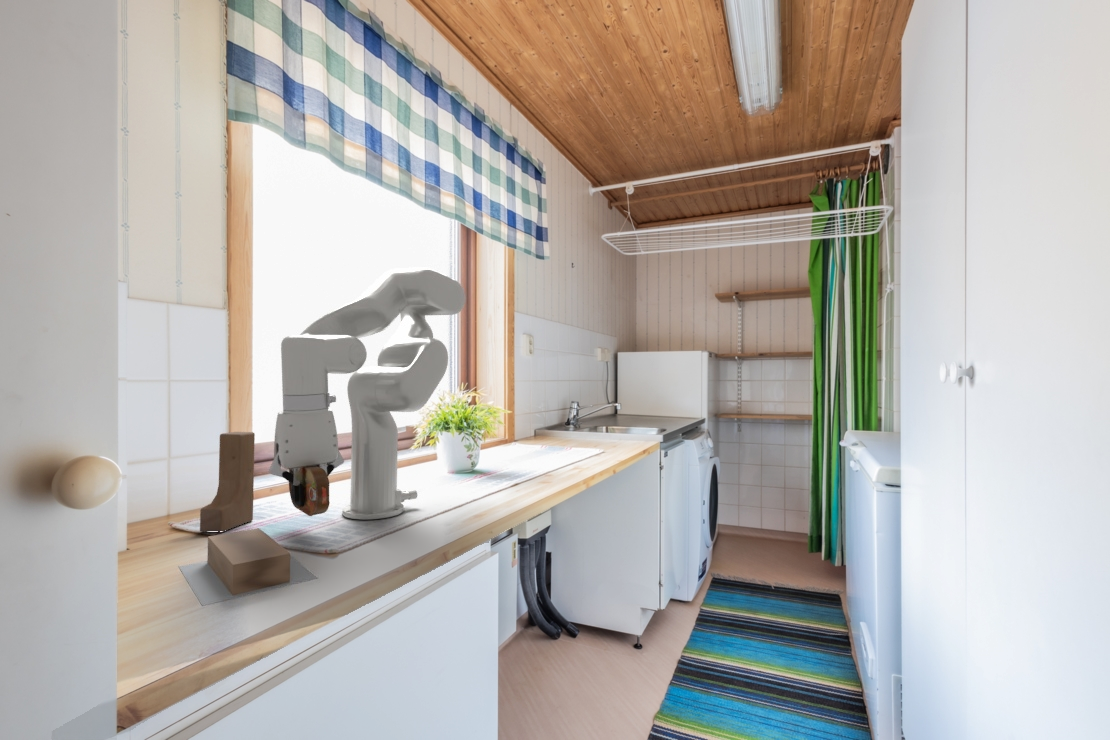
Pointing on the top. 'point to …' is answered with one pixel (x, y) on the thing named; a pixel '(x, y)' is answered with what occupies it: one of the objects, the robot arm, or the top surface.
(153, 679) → the top surface
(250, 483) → the wooden block
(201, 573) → the plate
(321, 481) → the tin
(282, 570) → the base block
